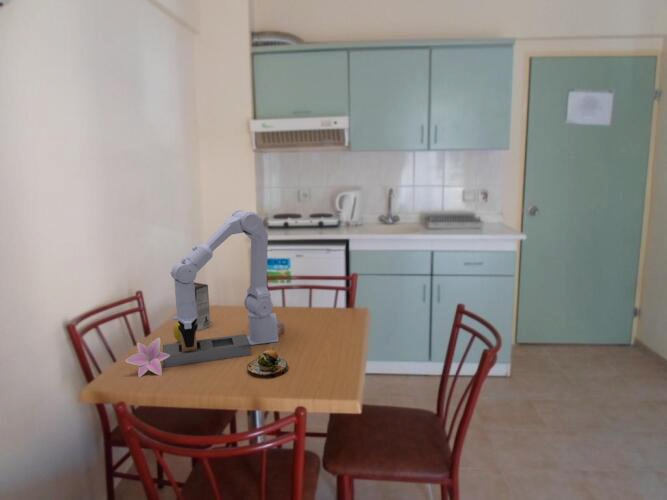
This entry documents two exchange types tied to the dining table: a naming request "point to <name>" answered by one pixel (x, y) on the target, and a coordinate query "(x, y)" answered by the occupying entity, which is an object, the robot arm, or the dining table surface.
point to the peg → (188, 347)
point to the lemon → (177, 333)
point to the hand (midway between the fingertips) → (189, 344)
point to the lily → (148, 358)
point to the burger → (268, 364)
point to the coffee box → (202, 306)
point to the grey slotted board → (207, 350)
